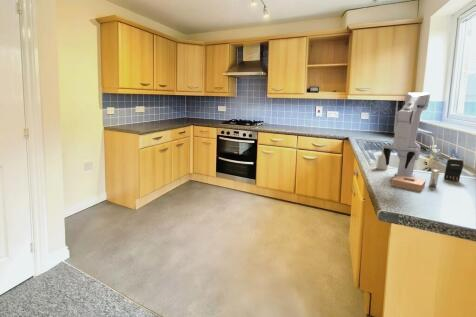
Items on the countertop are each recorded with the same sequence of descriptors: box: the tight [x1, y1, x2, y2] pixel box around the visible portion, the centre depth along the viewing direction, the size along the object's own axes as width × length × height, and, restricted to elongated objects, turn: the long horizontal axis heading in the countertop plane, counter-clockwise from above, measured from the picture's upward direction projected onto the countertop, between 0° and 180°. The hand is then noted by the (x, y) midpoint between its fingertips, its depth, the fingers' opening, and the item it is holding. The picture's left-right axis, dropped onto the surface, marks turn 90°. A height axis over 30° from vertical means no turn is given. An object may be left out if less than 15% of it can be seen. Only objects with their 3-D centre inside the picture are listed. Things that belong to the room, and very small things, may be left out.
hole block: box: [391, 175, 426, 192], centre depth 136 cm, size 12×12×3 cm
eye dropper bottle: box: [375, 150, 389, 170], centre depth 164 cm, size 4×6×12 cm
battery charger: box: [443, 157, 465, 182], centre depth 147 cm, size 7×4×11 cm, turn 57°
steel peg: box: [428, 169, 440, 188], centre depth 135 cm, size 3×3×8 cm
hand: (396, 166), depth 130 cm, fingers open, 7 cm apart
